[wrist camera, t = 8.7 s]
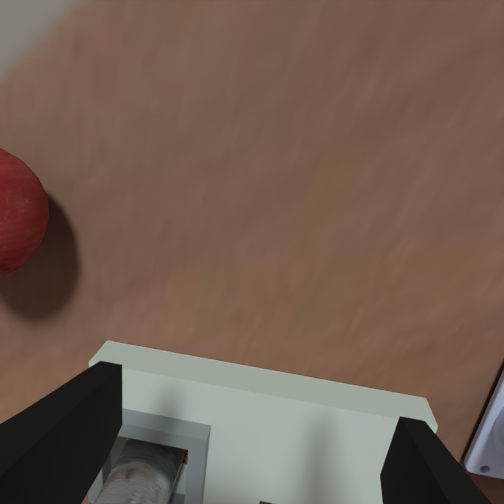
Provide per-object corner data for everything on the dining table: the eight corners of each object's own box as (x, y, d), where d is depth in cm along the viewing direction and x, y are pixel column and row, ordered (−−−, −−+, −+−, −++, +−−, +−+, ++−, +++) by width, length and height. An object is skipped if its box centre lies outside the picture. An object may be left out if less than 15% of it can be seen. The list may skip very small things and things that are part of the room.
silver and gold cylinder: (192, 419, 23) (148, 541, 17) (186, 460, 24) (143, 589, 18) (137, 406, 23) (71, 522, 17) (134, 448, 25) (72, 571, 18)
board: (425, 398, 21) (445, 443, 18) (360, 580, 26) (367, 636, 23) (107, 340, 22) (78, 373, 19) (110, 525, 28) (89, 572, 25)
